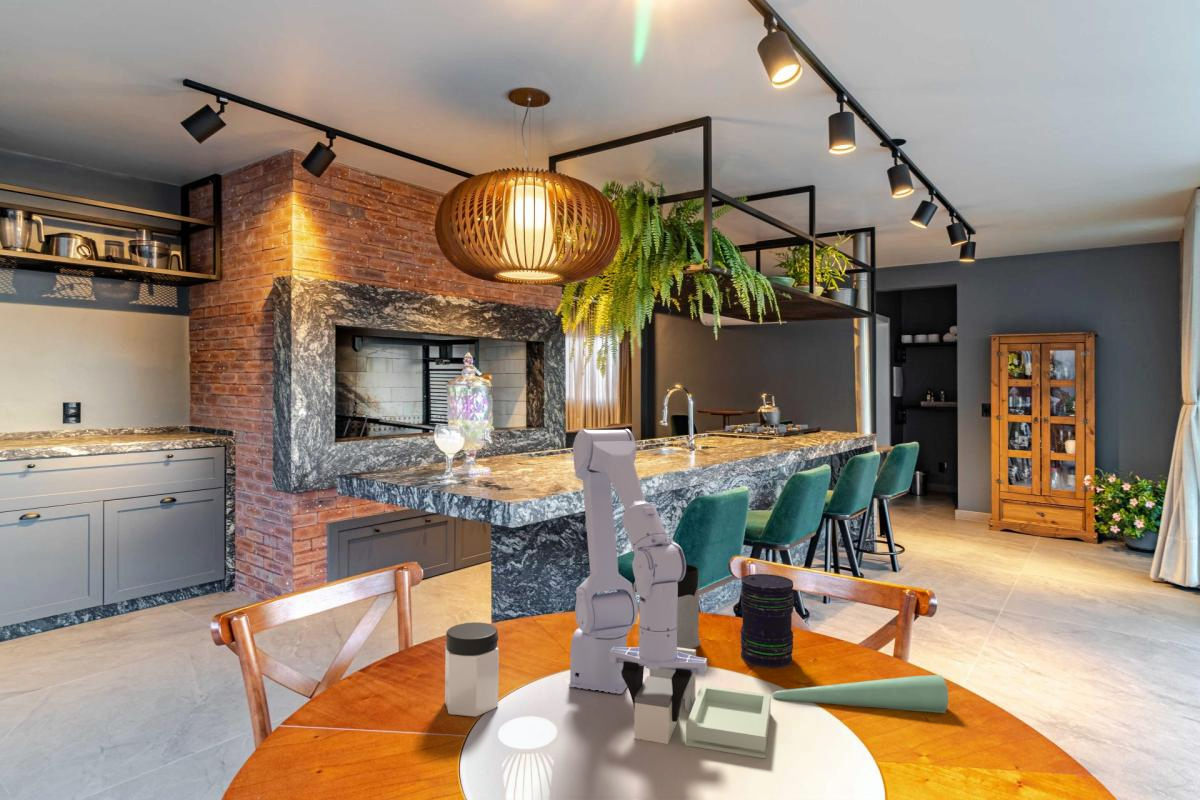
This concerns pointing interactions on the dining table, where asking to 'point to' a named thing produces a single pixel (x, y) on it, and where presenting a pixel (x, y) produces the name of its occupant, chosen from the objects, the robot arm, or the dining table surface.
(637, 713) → the tall grey beige-topped block
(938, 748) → the dining table surface
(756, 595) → the storage jar
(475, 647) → the jar
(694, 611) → the glass holder
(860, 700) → the long green cone
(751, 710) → the tray
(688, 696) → the dock
